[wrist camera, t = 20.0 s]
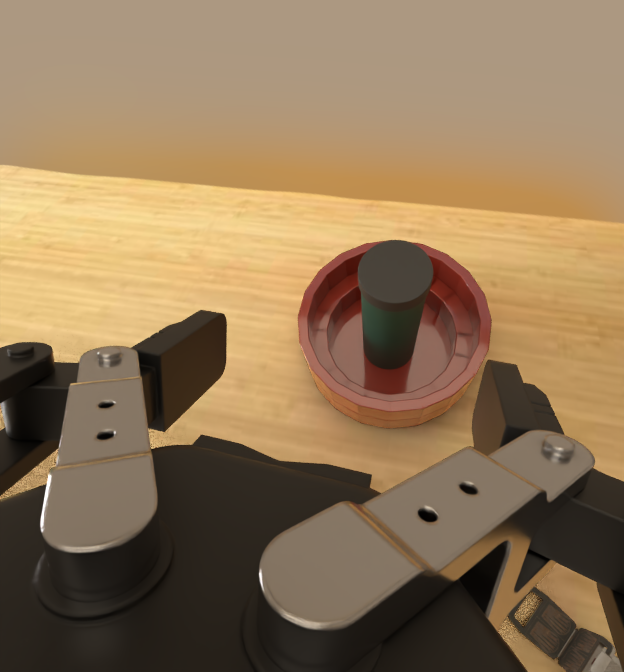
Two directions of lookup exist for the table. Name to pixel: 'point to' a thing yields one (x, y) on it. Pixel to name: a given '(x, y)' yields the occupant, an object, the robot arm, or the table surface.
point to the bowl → (429, 353)
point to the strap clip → (566, 639)
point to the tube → (393, 300)
